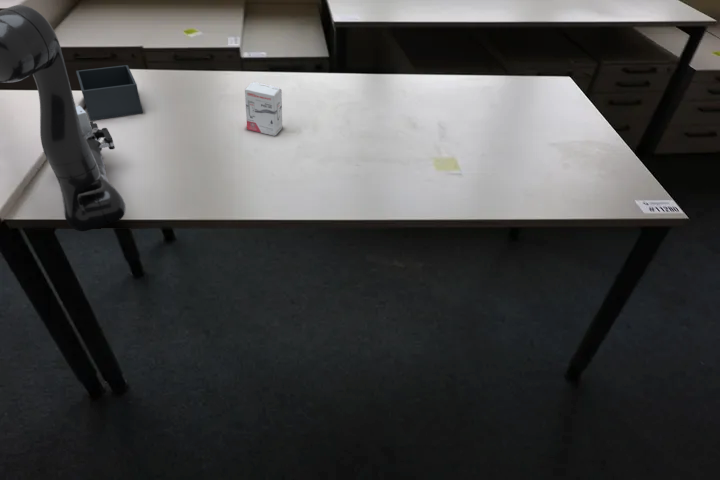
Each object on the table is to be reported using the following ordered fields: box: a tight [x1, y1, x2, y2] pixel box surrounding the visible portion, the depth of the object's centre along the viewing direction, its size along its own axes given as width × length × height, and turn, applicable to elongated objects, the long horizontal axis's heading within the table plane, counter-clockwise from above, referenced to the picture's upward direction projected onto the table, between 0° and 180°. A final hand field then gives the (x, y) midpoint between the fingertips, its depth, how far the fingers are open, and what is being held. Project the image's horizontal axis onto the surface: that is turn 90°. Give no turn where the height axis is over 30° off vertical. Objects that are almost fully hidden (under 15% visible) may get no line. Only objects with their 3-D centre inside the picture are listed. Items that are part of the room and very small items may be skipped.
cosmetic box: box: [75, 105, 92, 135], centre depth 119 cm, size 6×4×12 cm
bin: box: [75, 64, 143, 122], centre depth 140 cm, size 13×13×8 cm
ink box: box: [244, 81, 283, 137], centre depth 136 cm, size 9×5×12 cm, turn 73°
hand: (75, 127), depth 120 cm, fingers closed on cosmetic box, 6 cm apart
